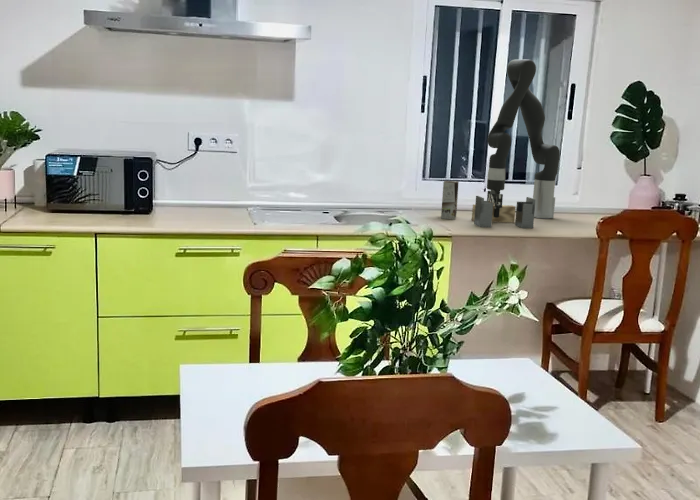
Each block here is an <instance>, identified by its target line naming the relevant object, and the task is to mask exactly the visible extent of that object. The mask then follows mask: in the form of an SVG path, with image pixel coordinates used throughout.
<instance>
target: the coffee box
mask: <svg viewBox="0 0 700 500" xmlns="http://www.w3.org/2000/svg"><path fill="white" fill-rule="evenodd" d="M459 183H460V182H459V180H458V181H457V180H444V181H443V184H442V186H443V187H442V199H441V214H440V218H441V219H442V220H443V219H445V220H456V218H457V212H458V211H457V210H458V196H459Z"/></svg>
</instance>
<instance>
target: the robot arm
mask: <svg viewBox="0 0 700 500" xmlns="http://www.w3.org/2000/svg"><path fill="white" fill-rule="evenodd" d="M506 71H507V76H508V80H509V82H510V85H511V86H512V89H513V90H512V92H511V94H510V95H509V96H508V97H507V98H506V100H505V101H504V102H503V104H502V106H501V108H500V111H499V113H498V117H497V120H496V121H495V123H494V125H493V126H492V128H491V130H490V131H489V133H488V135H487V140H486V141H487V145H488V146H489V148H492V149H496V151H495V153H493V154H490V156H489V160H488V161H489V162H488V171H487V180H486V189H487V193H486V195H487V197H486V201H488V203H493V205H494V217H495V218H498V217H499V211H500V208H502V205H503V199H504V198H503V197H504V194H503V193H501V191H504V190H505V185H506V184H505V183H506V167H507V166H506V163H507V162H506V161H507V159H508V158H507V157H508V155H509V152H510V148H511V146H512V138H511V135H510V134H509V133H508V132H506V130H510V129H511V128H512V127H513V126H514V123H515V121H516V116H517V114H518V112H519V110H520V112H521V116H522V119H523V122H524V123H523V124H525V128H526V132H527V137H528V140H529V146H530V151H531V155H532V159H533V161H534V162H535V163H536V164H538V165H544V167H543V169H542V170H540V171H538V172H536V173H535V174H534V181H533V182H534V183H533V195H532V198H533V199H536V201H535V213H534V218H537V219H555V218H554V215H555V204H556V197H555V188H556V187H555V186H556V178H557V176H558V171H559V166H560V165H559V164H560V157H561V152H560V148H559V147H558V146H557V145H555V144H545V143H544V141H543V137H542V131H543V128H544V125H545V121H546V115H545V111H544V108H543V104H542V102H541V101H540V99H539V98H538V97H537V96H536V95H535V94H534V93H533V92H532V90H531V89H530V86H531V84H532V83H533V80H534V78H535V75H536V73H537V66H536V62H534V60H532V59H528V58H525V59H524V58H523V59H511V61H509V62H508V65H507V68H506ZM519 108H520V109H519Z"/></svg>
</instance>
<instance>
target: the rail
mask: <svg viewBox="0 0 700 500" xmlns="http://www.w3.org/2000/svg"><path fill="white" fill-rule="evenodd" d="M516 207H517V206H514V205H506V204H502V208H500V211H499V217H498V218H495V217H494V205H493V211H492V223H493V222H494V223H495V222H496V223H515V219H516ZM471 210H472V211H471V221H472V222H474V217H475V204H472V209H471Z"/></svg>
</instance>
